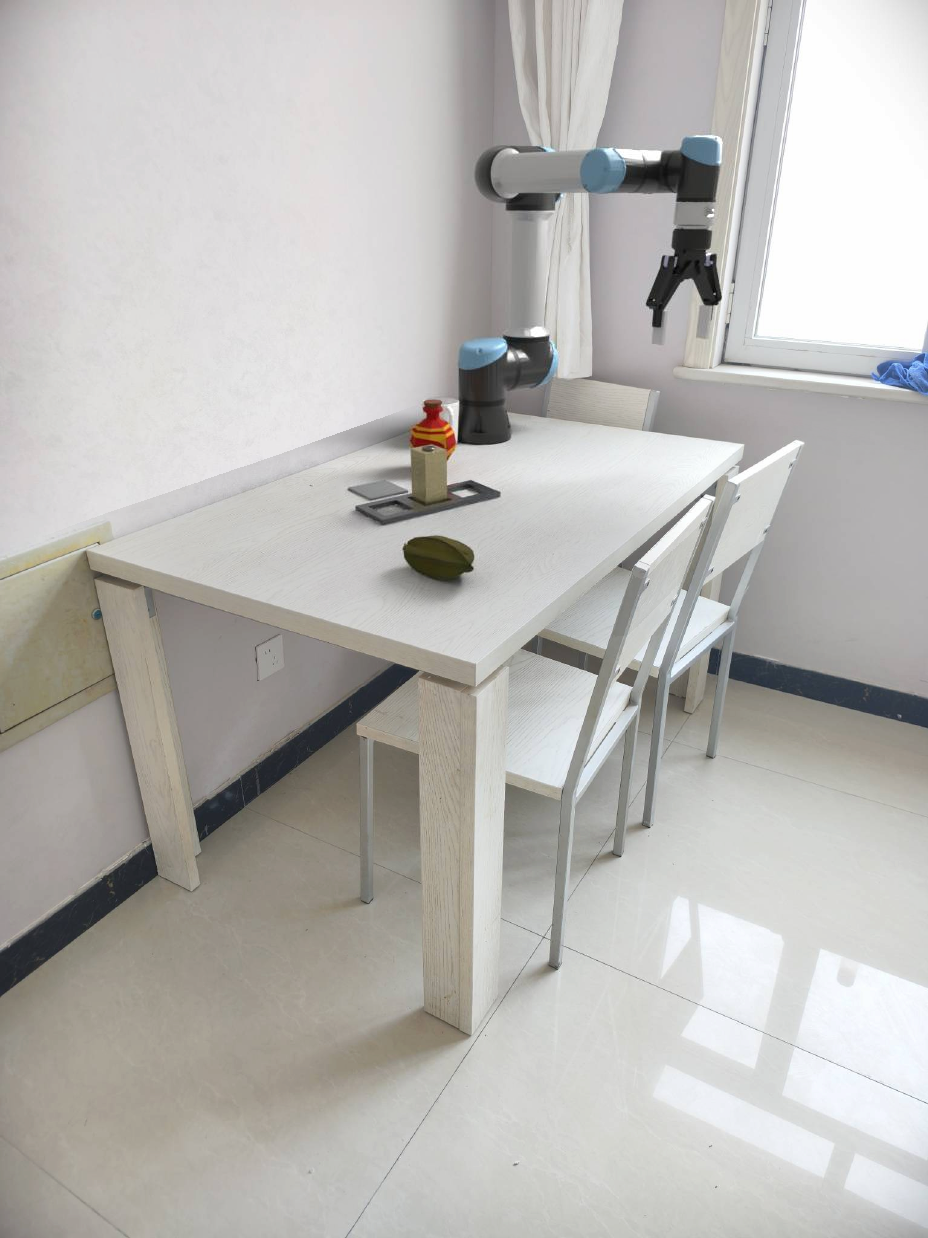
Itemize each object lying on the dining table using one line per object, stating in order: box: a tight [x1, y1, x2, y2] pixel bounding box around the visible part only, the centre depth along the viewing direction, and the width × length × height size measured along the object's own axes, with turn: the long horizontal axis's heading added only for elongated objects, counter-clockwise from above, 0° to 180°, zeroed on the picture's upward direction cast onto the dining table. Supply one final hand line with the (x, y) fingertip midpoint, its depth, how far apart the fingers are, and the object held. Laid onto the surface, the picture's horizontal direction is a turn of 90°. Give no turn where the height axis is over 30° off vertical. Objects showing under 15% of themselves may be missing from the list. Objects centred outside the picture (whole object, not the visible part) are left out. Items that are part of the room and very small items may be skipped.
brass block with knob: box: [410, 445, 448, 506], centre depth 166 cm, size 5×5×11 cm
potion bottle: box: [408, 399, 457, 462], centre depth 187 cm, size 10×10×15 cm
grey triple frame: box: [354, 479, 501, 526], centre depth 169 cm, size 10×28×1 cm, turn 127°
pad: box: [347, 479, 409, 501], centre depth 176 cm, size 9×9×1 cm
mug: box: [421, 396, 459, 445], centre depth 207 cm, size 11×9×10 cm
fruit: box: [401, 534, 475, 581], centre depth 136 cm, size 11×12×7 cm
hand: (680, 341), depth 174 cm, fingers open, 13 cm apart
